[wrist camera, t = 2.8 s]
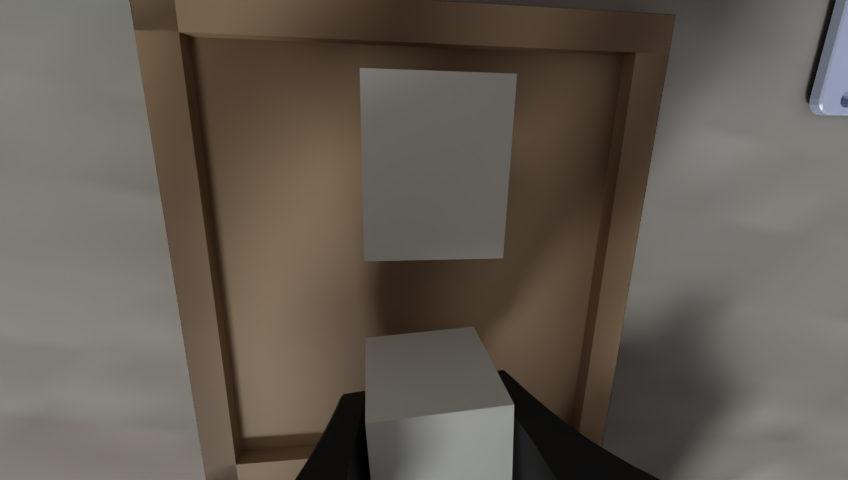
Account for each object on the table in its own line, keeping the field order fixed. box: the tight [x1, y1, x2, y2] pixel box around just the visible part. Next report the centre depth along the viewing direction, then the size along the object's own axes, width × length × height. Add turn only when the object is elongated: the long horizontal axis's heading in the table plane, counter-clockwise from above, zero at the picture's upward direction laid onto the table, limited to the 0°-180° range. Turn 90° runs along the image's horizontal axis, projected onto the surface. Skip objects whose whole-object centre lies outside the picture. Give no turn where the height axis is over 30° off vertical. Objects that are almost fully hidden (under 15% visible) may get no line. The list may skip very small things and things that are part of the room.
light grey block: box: [365, 327, 514, 480], centre depth 11 cm, size 3×4×4 cm
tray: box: [129, 0, 675, 480], centre depth 13 cm, size 14×15×1 cm
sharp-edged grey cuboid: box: [360, 68, 517, 261], centre depth 10 cm, size 3×4×4 cm
